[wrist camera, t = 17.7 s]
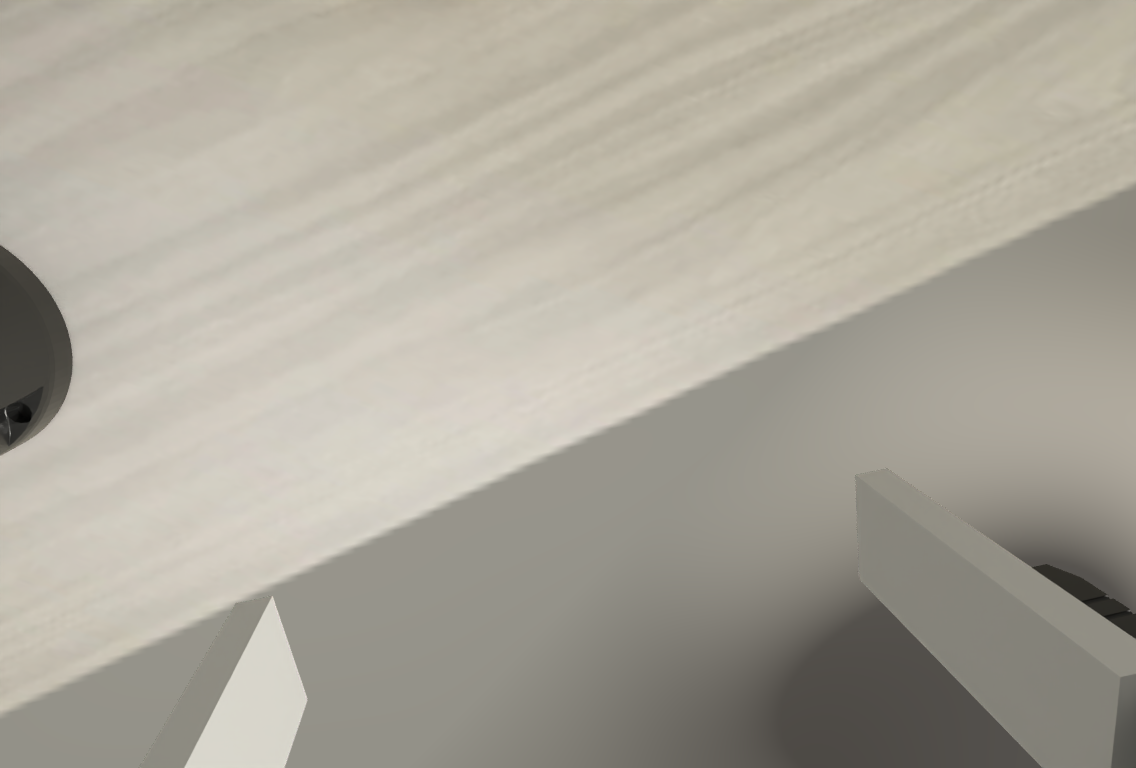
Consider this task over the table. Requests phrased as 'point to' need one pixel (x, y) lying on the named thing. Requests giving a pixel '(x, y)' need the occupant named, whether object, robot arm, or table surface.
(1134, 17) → the table surface
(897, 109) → the table surface
